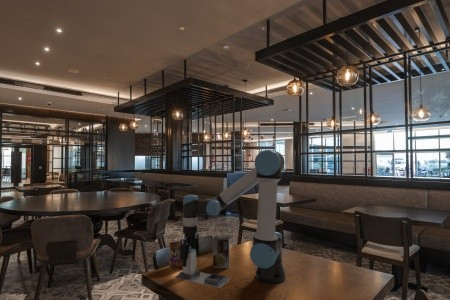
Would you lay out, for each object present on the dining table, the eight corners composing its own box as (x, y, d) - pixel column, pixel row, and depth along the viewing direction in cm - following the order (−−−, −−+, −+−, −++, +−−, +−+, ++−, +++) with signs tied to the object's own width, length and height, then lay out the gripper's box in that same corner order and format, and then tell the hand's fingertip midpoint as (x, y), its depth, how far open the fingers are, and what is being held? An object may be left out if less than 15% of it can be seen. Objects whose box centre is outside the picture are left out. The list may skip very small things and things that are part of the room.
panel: (230, 279, 141) (230, 275, 141) (219, 288, 130) (219, 284, 131) (187, 270, 153) (187, 266, 153) (173, 278, 142) (173, 274, 142)
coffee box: (229, 265, 161) (230, 236, 162) (228, 269, 154) (229, 239, 155) (214, 264, 162) (214, 236, 163) (212, 268, 155) (212, 239, 156)
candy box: (168, 270, 152) (169, 242, 153) (169, 267, 156) (169, 240, 157) (185, 270, 153) (185, 241, 154) (185, 267, 158) (185, 239, 158)
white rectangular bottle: (195, 274, 146) (195, 249, 147) (190, 277, 142) (191, 251, 143) (187, 272, 149) (187, 247, 149) (182, 275, 145) (182, 250, 145)
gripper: (194, 221, 157) (194, 262, 156) (172, 228, 139) (171, 275, 138) (206, 222, 153) (205, 265, 152) (185, 229, 136) (184, 278, 135)
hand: (189, 270), depth 145 cm, fingers open, 7 cm apart
